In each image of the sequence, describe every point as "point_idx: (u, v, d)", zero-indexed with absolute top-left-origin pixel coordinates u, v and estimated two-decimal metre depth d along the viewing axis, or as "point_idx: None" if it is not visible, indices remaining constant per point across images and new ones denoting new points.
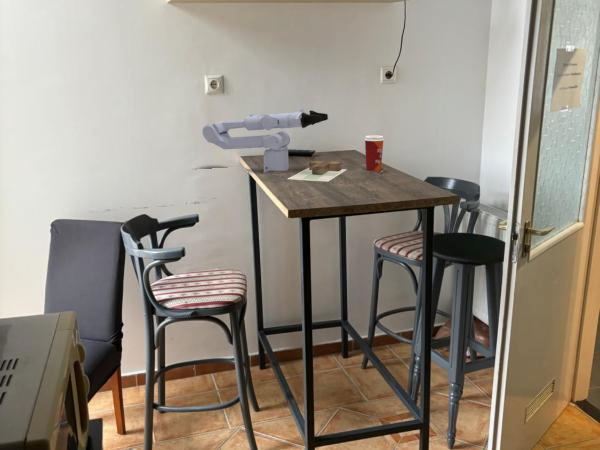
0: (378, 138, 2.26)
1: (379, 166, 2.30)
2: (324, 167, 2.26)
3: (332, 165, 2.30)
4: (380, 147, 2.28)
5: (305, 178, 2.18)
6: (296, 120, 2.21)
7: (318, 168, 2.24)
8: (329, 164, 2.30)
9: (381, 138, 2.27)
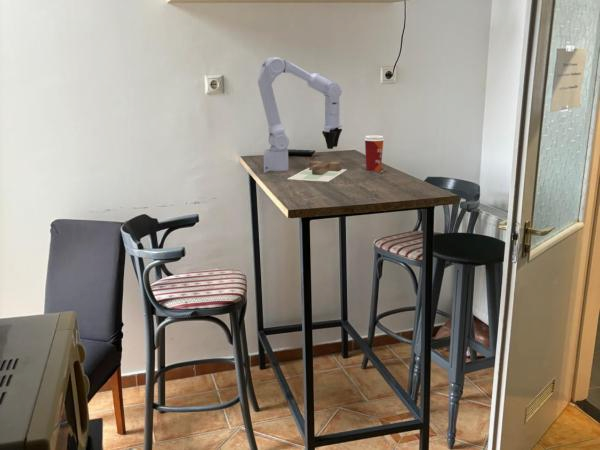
0: (378, 138, 2.26)
1: (379, 166, 2.30)
2: (324, 167, 2.26)
3: (332, 165, 2.30)
4: (380, 147, 2.28)
5: (305, 178, 2.18)
6: (327, 128, 2.31)
7: (318, 168, 2.24)
8: (329, 164, 2.30)
9: (381, 138, 2.27)
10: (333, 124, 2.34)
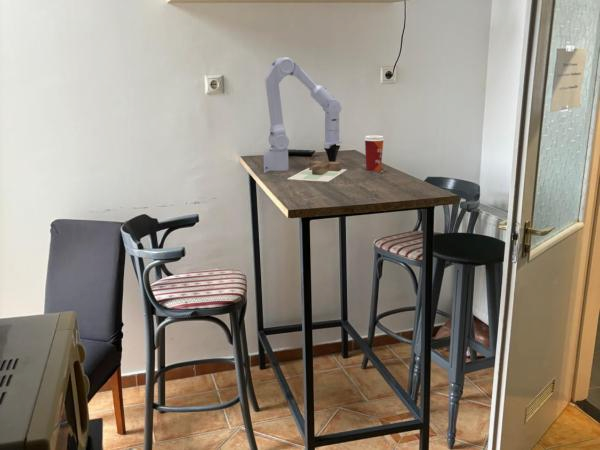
0: (378, 138, 2.26)
1: (379, 166, 2.30)
2: (324, 167, 2.26)
3: (332, 165, 2.30)
4: (380, 147, 2.28)
5: (305, 178, 2.18)
6: (327, 145, 2.32)
7: (318, 168, 2.24)
8: (329, 164, 2.30)
9: (381, 138, 2.27)
10: (333, 140, 2.36)
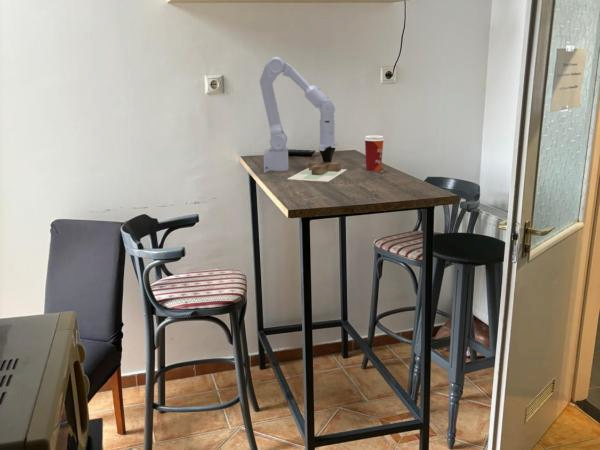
0: (378, 138, 2.26)
1: (379, 166, 2.30)
2: (323, 167, 2.25)
3: (332, 165, 2.29)
4: (380, 147, 2.28)
5: (305, 178, 2.18)
6: (322, 147, 2.27)
7: (318, 168, 2.23)
8: (328, 164, 2.30)
9: (381, 138, 2.27)
10: (328, 142, 2.30)
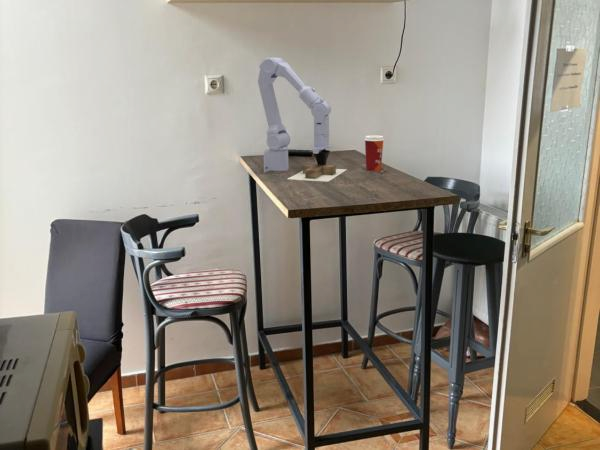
0: (378, 138, 2.26)
1: (379, 166, 2.30)
2: (318, 171, 2.19)
3: (326, 168, 2.23)
4: (380, 147, 2.28)
5: (305, 178, 2.18)
6: (316, 150, 2.20)
7: (311, 172, 2.17)
8: (323, 168, 2.23)
9: (381, 138, 2.27)
10: (322, 145, 2.24)
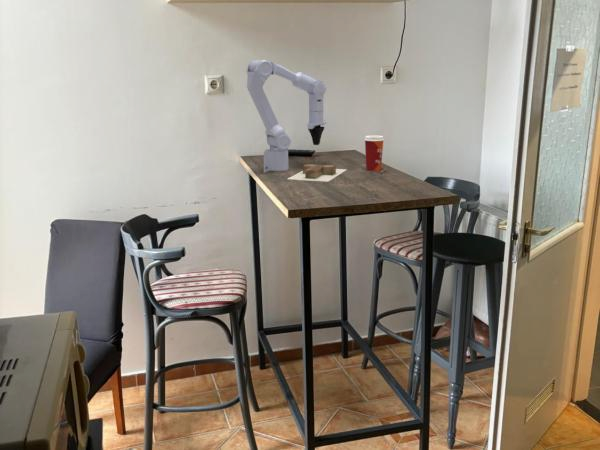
0: (378, 138, 2.26)
1: (379, 166, 2.30)
2: (318, 171, 2.19)
3: (326, 168, 2.23)
4: (380, 147, 2.28)
5: (305, 178, 2.18)
6: (310, 125, 2.33)
7: (311, 172, 2.17)
8: (323, 168, 2.23)
9: (381, 138, 2.27)
10: (317, 121, 2.36)
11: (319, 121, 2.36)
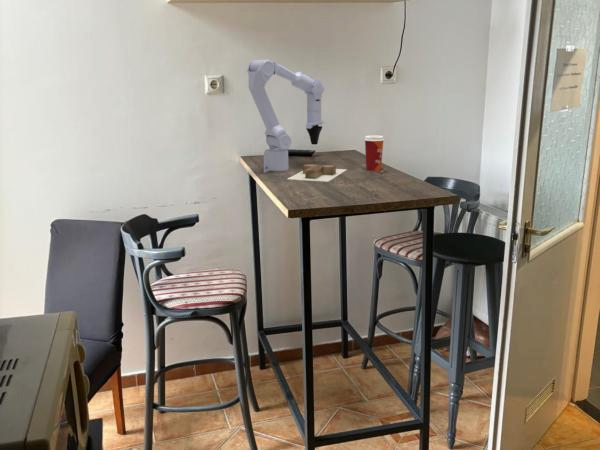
0: (378, 138, 2.26)
1: (379, 166, 2.30)
2: (318, 171, 2.19)
3: (326, 168, 2.23)
4: (380, 147, 2.28)
5: (305, 178, 2.18)
6: (308, 125, 2.34)
7: (311, 172, 2.17)
8: (323, 168, 2.23)
9: (381, 138, 2.27)
10: (315, 121, 2.38)
11: (317, 121, 2.38)
